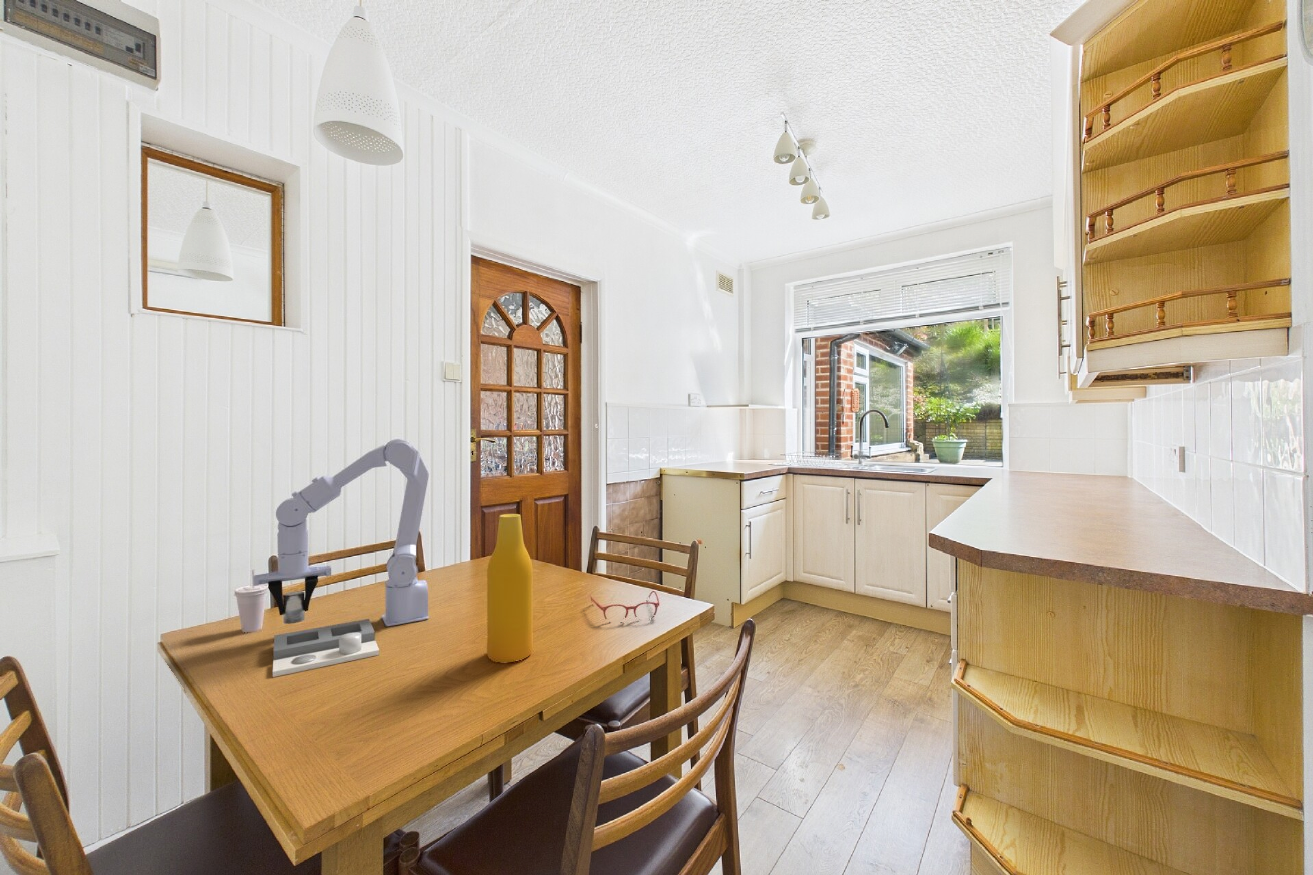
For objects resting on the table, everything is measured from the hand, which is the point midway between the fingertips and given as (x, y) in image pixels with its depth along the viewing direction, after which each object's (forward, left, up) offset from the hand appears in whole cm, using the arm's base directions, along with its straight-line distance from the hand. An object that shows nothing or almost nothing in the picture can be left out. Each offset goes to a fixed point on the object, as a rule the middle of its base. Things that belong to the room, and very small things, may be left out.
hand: (294, 611), depth 122 cm
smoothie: (+8, -10, -6) cm, 14 cm away
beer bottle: (-37, +37, -6) cm, 53 cm away
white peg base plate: (-5, +19, -5) cm, 21 cm away
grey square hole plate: (-5, +10, -5) cm, 13 cm away
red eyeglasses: (-70, +28, -6) cm, 76 cm away
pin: (0, 0, -2) cm, 2 cm away
